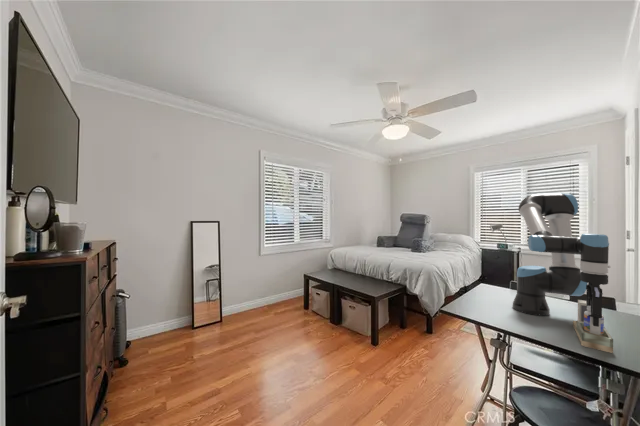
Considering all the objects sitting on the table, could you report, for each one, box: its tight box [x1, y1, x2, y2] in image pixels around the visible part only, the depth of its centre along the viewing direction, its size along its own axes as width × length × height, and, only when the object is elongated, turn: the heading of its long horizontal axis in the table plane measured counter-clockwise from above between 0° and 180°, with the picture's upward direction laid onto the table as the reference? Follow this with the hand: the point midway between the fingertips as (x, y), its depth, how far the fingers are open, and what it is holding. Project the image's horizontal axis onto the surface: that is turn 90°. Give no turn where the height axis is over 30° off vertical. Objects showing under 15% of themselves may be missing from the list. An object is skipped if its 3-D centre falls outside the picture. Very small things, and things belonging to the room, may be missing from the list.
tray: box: [572, 320, 614, 354], centre depth 105 cm, size 8×25×5 cm, turn 141°
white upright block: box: [577, 299, 587, 323], centre depth 112 cm, size 5×6×10 cm
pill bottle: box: [584, 306, 605, 335], centre depth 101 cm, size 5×5×10 cm
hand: (593, 331), depth 101 cm, fingers closed on pill bottle, 5 cm apart
